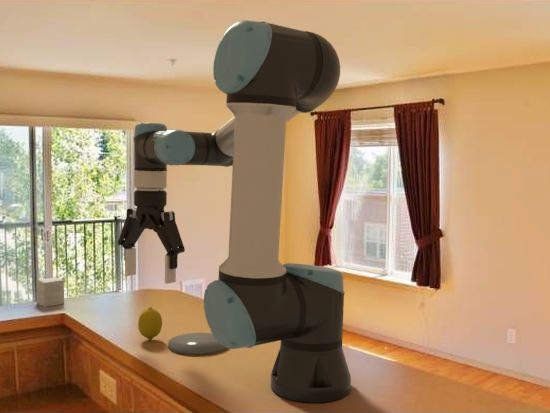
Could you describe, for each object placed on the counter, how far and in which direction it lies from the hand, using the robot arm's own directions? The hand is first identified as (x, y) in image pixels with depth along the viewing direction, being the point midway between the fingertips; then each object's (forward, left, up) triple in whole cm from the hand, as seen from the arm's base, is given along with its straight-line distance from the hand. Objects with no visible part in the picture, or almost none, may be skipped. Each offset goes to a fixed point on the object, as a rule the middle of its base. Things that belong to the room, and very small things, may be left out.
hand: (149, 278), depth 133 cm
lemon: (0, 0, -15) cm, 15 cm away
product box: (+51, -7, -15) cm, 53 cm away
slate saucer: (-12, -4, -15) cm, 20 cm away
